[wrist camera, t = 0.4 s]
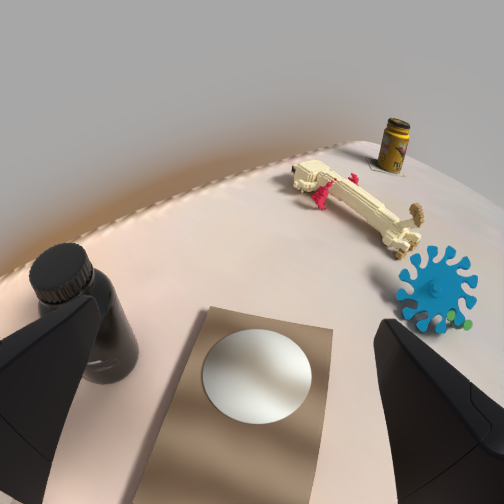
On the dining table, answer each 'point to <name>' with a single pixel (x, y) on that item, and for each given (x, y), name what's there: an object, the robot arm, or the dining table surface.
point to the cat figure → (359, 204)
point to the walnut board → (243, 415)
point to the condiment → (392, 148)
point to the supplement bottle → (112, 315)
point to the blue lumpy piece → (438, 290)
